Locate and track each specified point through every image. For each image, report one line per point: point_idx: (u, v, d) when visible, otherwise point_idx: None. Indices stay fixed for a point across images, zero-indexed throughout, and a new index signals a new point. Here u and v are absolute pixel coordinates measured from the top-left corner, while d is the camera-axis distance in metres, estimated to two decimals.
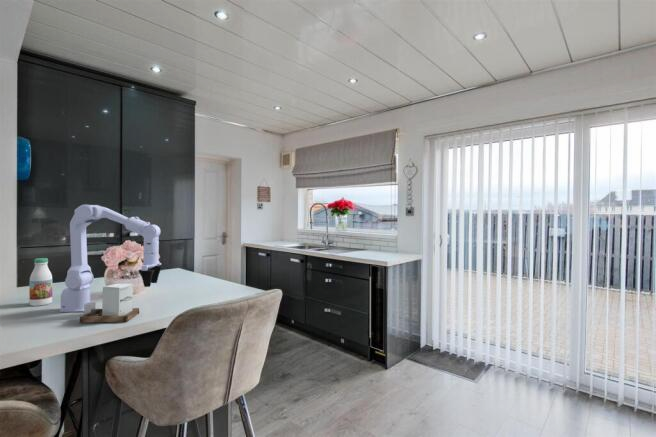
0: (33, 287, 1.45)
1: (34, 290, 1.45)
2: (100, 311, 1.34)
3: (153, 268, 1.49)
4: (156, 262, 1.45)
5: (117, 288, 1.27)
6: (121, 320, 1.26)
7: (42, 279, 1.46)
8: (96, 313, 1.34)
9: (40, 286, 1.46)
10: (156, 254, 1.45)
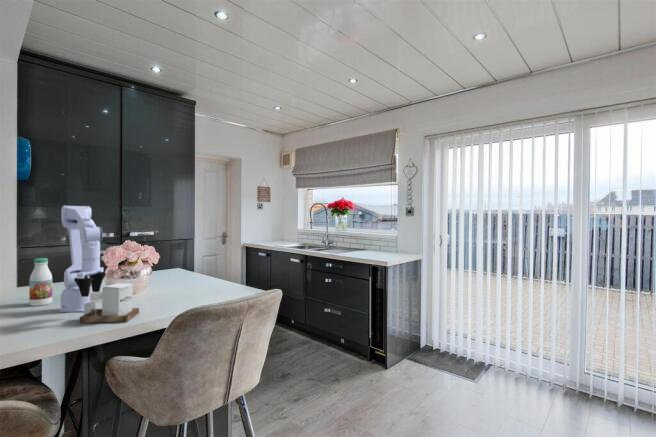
0: (33, 287, 1.45)
1: (34, 290, 1.45)
2: (100, 311, 1.34)
3: (95, 275, 1.34)
4: (96, 269, 1.29)
5: (117, 288, 1.27)
6: (121, 320, 1.26)
7: (42, 279, 1.46)
8: (96, 313, 1.33)
9: (40, 286, 1.46)
10: (96, 260, 1.29)
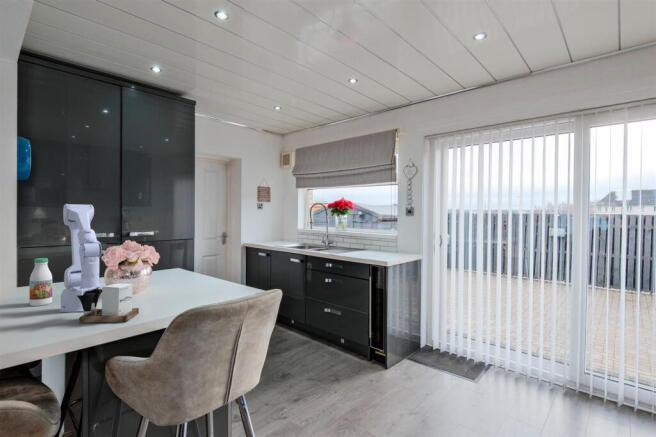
0: (33, 287, 1.45)
1: (34, 290, 1.45)
2: (100, 311, 1.34)
3: (91, 292, 1.32)
4: (95, 285, 1.29)
5: (117, 288, 1.27)
6: (121, 320, 1.26)
7: (42, 279, 1.46)
8: (96, 313, 1.33)
9: (40, 286, 1.46)
10: (95, 276, 1.29)
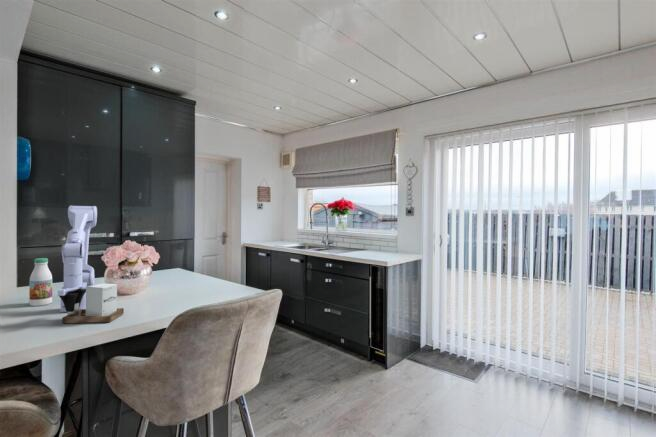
0: (33, 287, 1.45)
1: (34, 290, 1.45)
2: (84, 311, 1.34)
3: (74, 292, 1.31)
4: (78, 285, 1.28)
5: (100, 288, 1.27)
6: (104, 320, 1.26)
7: (42, 279, 1.46)
8: (80, 313, 1.33)
9: (40, 286, 1.46)
10: (78, 276, 1.28)
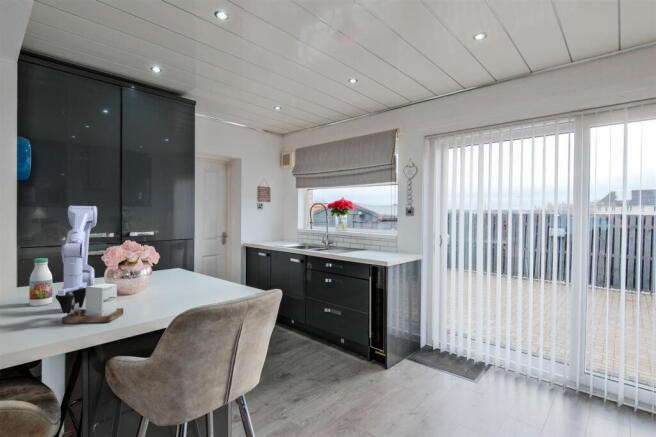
0: (33, 287, 1.45)
1: (34, 290, 1.45)
2: (84, 311, 1.34)
3: (78, 291, 1.33)
4: (78, 285, 1.28)
5: (100, 288, 1.27)
6: (104, 320, 1.26)
7: (42, 279, 1.46)
8: (80, 313, 1.33)
9: (40, 286, 1.46)
10: (78, 276, 1.28)
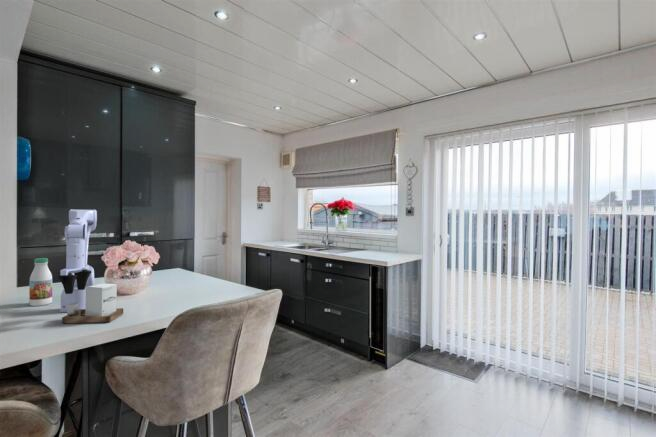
0: (33, 287, 1.45)
1: (34, 290, 1.45)
2: (84, 311, 1.34)
3: (80, 273, 1.33)
4: (81, 266, 1.29)
5: (100, 288, 1.27)
6: (104, 320, 1.26)
7: (42, 279, 1.46)
8: (80, 313, 1.33)
9: (40, 286, 1.46)
10: (81, 257, 1.29)
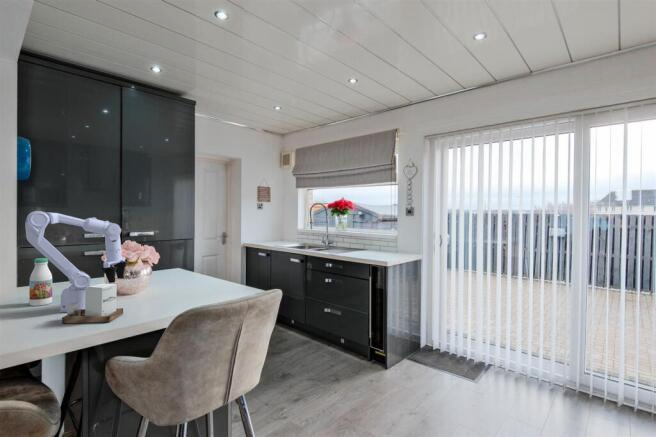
0: (33, 287, 1.45)
1: (34, 290, 1.45)
2: (84, 311, 1.34)
3: (118, 264, 1.54)
4: (119, 258, 1.50)
5: (100, 288, 1.27)
6: (104, 320, 1.26)
7: (42, 279, 1.46)
8: (79, 313, 1.33)
9: (40, 286, 1.46)
10: (118, 251, 1.49)
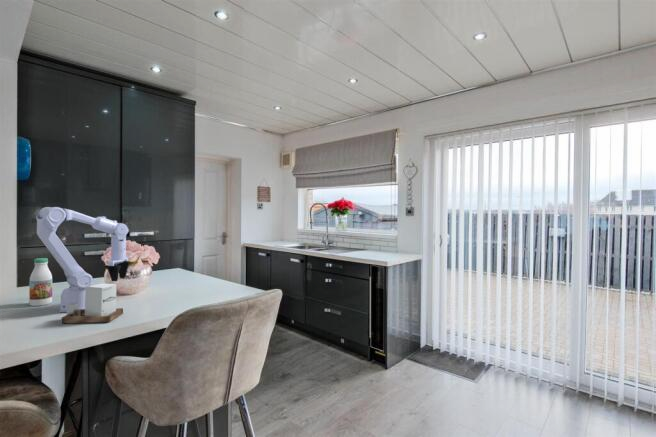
0: (33, 287, 1.45)
1: (34, 290, 1.45)
2: (83, 311, 1.34)
3: (121, 264, 1.58)
4: (123, 258, 1.53)
5: (100, 288, 1.27)
6: (103, 320, 1.26)
7: (42, 279, 1.46)
8: (79, 313, 1.33)
9: (40, 286, 1.46)
10: (123, 250, 1.53)
